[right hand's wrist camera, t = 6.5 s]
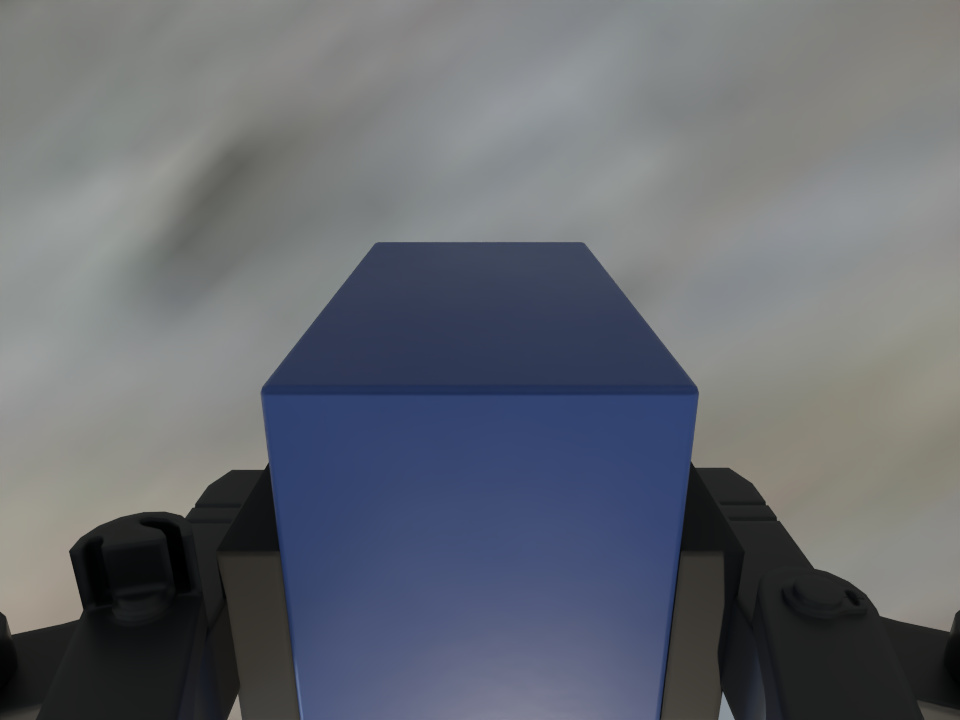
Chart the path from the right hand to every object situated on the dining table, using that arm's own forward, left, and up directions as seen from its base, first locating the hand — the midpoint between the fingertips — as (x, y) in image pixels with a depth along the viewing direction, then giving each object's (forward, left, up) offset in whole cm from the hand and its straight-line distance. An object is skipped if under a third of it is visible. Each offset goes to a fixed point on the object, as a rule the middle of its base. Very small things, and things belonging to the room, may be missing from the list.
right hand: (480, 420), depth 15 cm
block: (0, 0, -2) cm, 2 cm away
